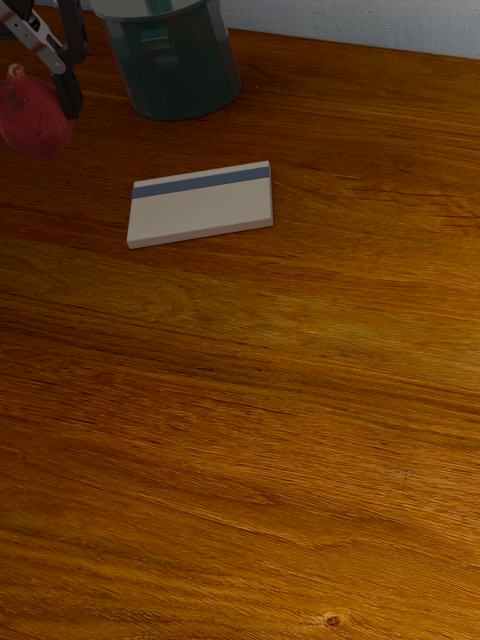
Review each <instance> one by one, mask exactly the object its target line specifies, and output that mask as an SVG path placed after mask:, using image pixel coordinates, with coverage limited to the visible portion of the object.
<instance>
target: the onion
mask: <svg viewBox="0 0 480 640" xmlns="http://www.w3.org/2000/svg"><path fill="white" fill-rule="evenodd" d="M73 127H74V119H70V120H69V119H68V118H67V115H66V113H65V110H64V108H63V105H62V103H61V100H60V98H59V95H58V93H57V90H56V88H55V87H53V86H52V85H50V84H49V83H48V82H46V81H45V80H43V79H40V78H38V77H36V76H33V75H29V74H26V73H25V67H24V66H23V65H21V64H19V63H17V62H14V63H13V64H10V65H9V66H8V70H7V73H6V78H5V80H4V81H3V82H2V83H1V85H0V135H1V136H2V139H3V140H4V141H5V143H6V144H7V145H8V146H10V148H12V149H13V150H14V151H16V152H18V153H19V154H21V155H23V156H26V157H28V158H30V159H35V160H38V161H44V162H47V163H51V162H55V161H57V160H58V159H59V158H60V155H61V153H62V152H63V150H65V148H66V146H67V145H68V143H69V142H70V140H71V138H72V135H73Z"/></svg>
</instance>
